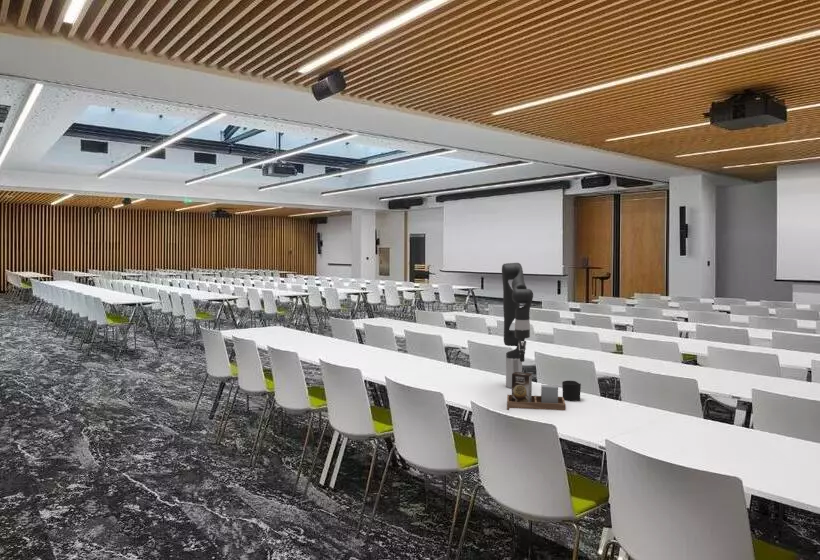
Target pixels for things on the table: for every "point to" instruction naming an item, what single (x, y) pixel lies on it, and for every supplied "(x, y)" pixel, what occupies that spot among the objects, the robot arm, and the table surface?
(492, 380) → the table surface
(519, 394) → the coffee box
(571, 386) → the pen holder
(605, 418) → the table surface
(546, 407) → the caddy
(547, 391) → the tea box
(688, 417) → the table surface
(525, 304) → the robot arm
